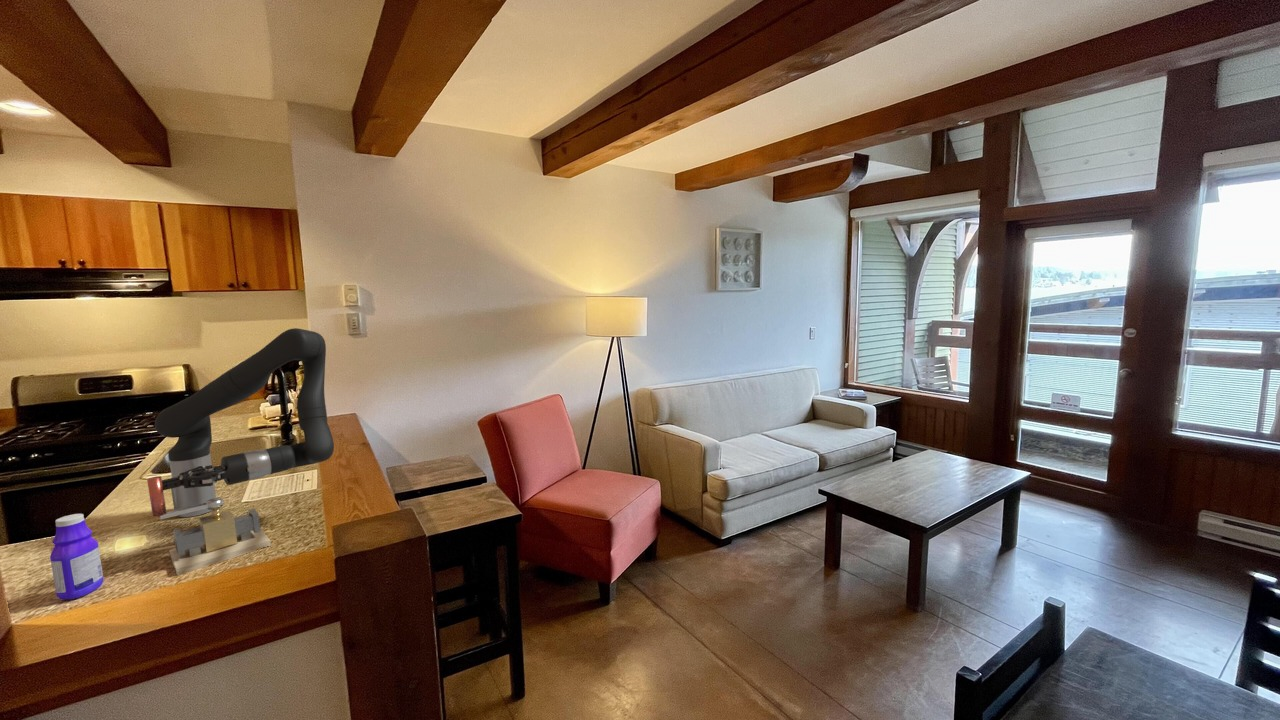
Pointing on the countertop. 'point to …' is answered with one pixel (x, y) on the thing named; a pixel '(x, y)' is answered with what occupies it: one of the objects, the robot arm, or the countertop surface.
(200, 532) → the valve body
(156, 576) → the countertop surface
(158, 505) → the valve lever
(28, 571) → the countertop surface
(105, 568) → the countertop surface
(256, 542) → the valve board
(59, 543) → the bottle
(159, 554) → the countertop surface
